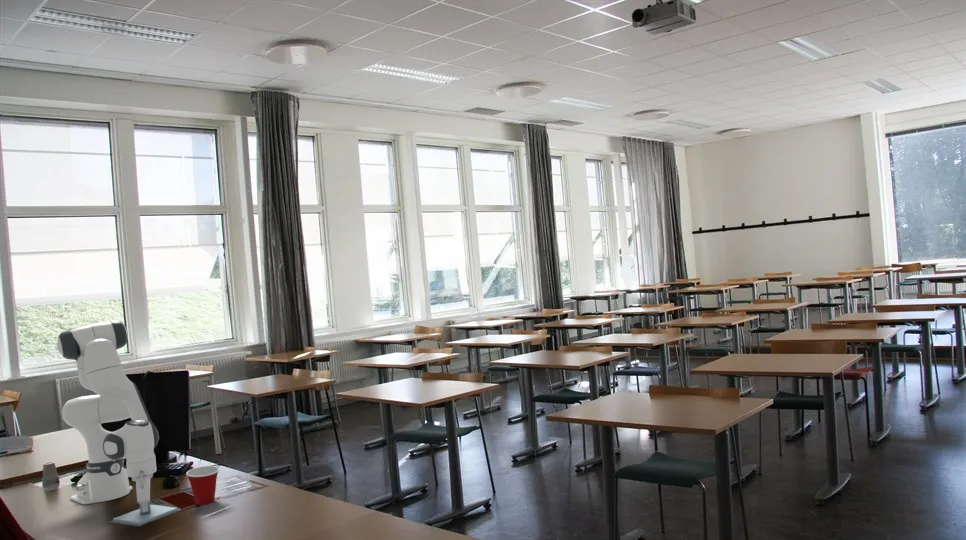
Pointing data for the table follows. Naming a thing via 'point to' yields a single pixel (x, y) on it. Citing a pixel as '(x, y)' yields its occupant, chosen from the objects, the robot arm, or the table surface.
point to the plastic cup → (203, 483)
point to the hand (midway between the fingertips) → (145, 509)
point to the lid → (145, 514)
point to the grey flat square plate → (143, 523)
